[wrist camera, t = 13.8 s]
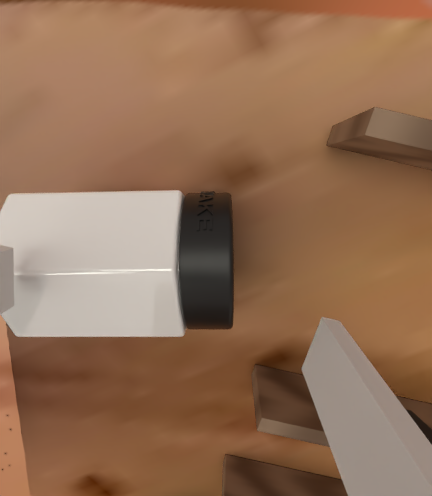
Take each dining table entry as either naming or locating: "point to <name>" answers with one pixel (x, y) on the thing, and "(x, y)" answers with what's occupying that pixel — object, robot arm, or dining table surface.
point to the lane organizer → (294, 385)
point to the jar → (119, 263)
